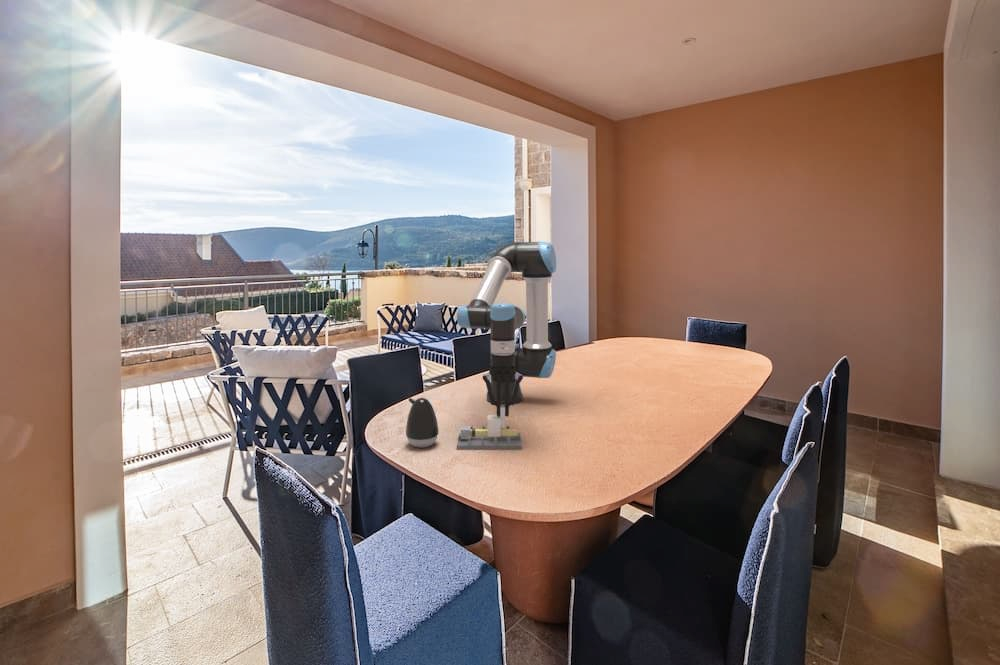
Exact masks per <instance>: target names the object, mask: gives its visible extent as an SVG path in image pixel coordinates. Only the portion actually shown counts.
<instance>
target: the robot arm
mask: <svg viewBox="0 0 1000 665" xmlns="http://www.w3.org/2000/svg"><path fill="white" fill-rule="evenodd" d="M486 267H487V268H486V271H485V273H484V275H483V276H482V279H481V280H480V283H479V284H478V287H477V289H476V291H475V292H474V294H473V297H471V301H470V302H469V304H465V305H461V306H459V307H458V309H457V313H456V322H457V325H458V326H459V327H460V328H466V329H478V330H479V329H481V330H483V329H484V330H490V357H489V358H490V367H489V370H488V372H486V373H483V374H482V380H483V381H484V383H485V385H486V389H487V392H486V401H487V402H489V403H490V405H492V406H495V408H496V415H497V417H500V429H501V428H503V429H505V428H506V417H509V416H510V415H509V414H510V412H509V411H510V410H509V409H510V406H514V405H515V404H518V403H521V402H522V401H523V400H524V399H523V398H524V396H523V392H522V388H521V385H520V383H521V382H522V381H523V379H524V378H525V377H526V378H535V379H536V378H537V379H548V378H550V377H551V376H552V374H553V372H554V370H555V364H556V359H557V352H556V349H554V348H552V343H551V342H550V341H549V281H550V280H551V278H552V277H553V273H555V272H557V257H556V252H555V247H554V245H553V244H552V243H551V242H549V241H548V242H547V241H526V242H525V241H520V242H519V241H513V242H509V243H507V244H504V245H502V246H501V247H500V248H498V249H497V250H495V252H494V253H493V254H492V255H491V256H490V258H489V259H488V261H487V263H486ZM511 273H521V278H522V279H523V280H524V281H525V311H526V312H525V311H524V310H523V308H522V307H520V306H518V305H517V306H516V305H515V304H514V303H510V302H497V303H496V302H495V301H496V299H497V297H498V295H499V292H500V290H501V288H502V286H503V285H504V284H503V283H504V282H505V280H506V278H508V277H509V276H510V275H511ZM525 322H526V323H525ZM524 324H526V326H525V327H526V336H525V337H526V340H525V342H524V343H522V347H520V345H519V343H515V342H516V338H515V336H516V330H518V329H519V328H521V327H522V326H523V325H524Z"/></svg>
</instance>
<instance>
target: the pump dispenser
mask: <svg viewBox="0 0 1000 665" xmlns="http://www.w3.org/2000/svg"><path fill="white" fill-rule="evenodd" d="M408 402H410V404H411V407H410V409H409V413H408V417H407V420H406V426H405V436H406V438H407V441H408V442H409V444H411V445H412V447H415V448H419V449H423V448H428V447H431V446H432V445H433V444H434V443H435V442H436V441H437V438H438V435H439V423H438V419H437V415H436V413H435V409H434V407H433V405H432V404H431V402H430V400H429V399H427V398H424V397H419V398H417V399H416V400H414V399H413V398H411V397H409V398H408Z"/></svg>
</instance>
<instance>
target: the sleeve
mask: <svg viewBox="0 0 1000 665" xmlns="http://www.w3.org/2000/svg"><path fill="white" fill-rule="evenodd" d="M487 429H488V437H500V429H501V428H500V417H497V414H488V415H487Z"/></svg>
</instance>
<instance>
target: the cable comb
mask: <svg viewBox="0 0 1000 665" xmlns="http://www.w3.org/2000/svg"><path fill="white" fill-rule="evenodd" d="M473 427H474V426H473V425H469V426H468V425H461V428H460V432H459V433H458V438H457V443H456V450H522V448H523V447H522V438H521V433H520V432H519V429H517V428H516V429H515V428H514V429H511V428H510V425H506V429H505V428H503V429H501V428H500V437H488V428H486V425H482V428H479V429H478V428H473Z"/></svg>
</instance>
